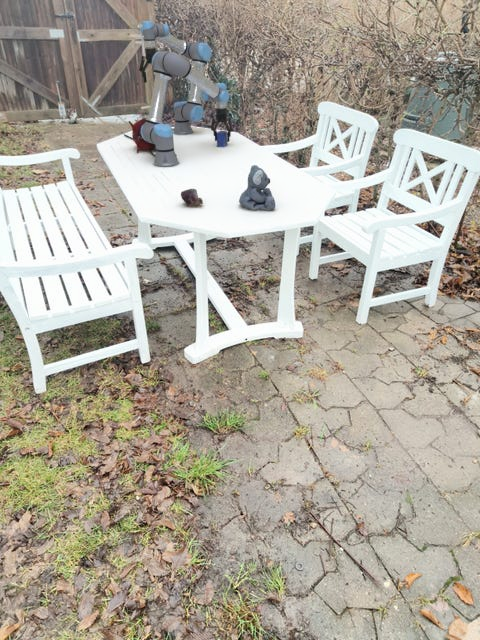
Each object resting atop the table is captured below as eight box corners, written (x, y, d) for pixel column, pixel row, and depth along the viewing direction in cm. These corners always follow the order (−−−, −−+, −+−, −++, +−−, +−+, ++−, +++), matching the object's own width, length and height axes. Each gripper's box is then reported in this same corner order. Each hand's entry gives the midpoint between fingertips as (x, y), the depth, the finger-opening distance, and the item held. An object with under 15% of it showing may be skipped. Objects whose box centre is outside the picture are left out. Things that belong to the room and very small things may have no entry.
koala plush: (276, 211, 223) (277, 171, 212) (240, 212, 222) (240, 172, 211) (271, 199, 237) (272, 161, 226) (237, 200, 236) (237, 162, 225)
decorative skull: (132, 124, 330) (125, 120, 306) (163, 117, 329) (158, 113, 306) (140, 154, 337) (134, 153, 313) (170, 147, 336) (166, 145, 312)
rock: (196, 202, 238) (178, 205, 233) (194, 185, 234) (176, 188, 230) (205, 205, 228) (187, 208, 224) (203, 188, 224) (185, 191, 220)
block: (223, 147, 330) (223, 133, 324) (217, 146, 331) (216, 132, 326) (227, 144, 336) (226, 131, 330) (220, 144, 337) (220, 130, 331)
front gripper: (237, 107, 319) (237, 140, 332) (209, 106, 325) (210, 138, 337) (233, 109, 313) (234, 143, 326) (205, 108, 319) (206, 141, 332)
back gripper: (169, 47, 306) (172, 82, 318) (137, 47, 313) (141, 81, 325) (164, 48, 301) (167, 84, 313) (131, 48, 307) (135, 82, 319)
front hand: (222, 141), depth 332 cm, fingers open, 9 cm apart
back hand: (154, 82), depth 319 cm, fingers open, 13 cm apart
